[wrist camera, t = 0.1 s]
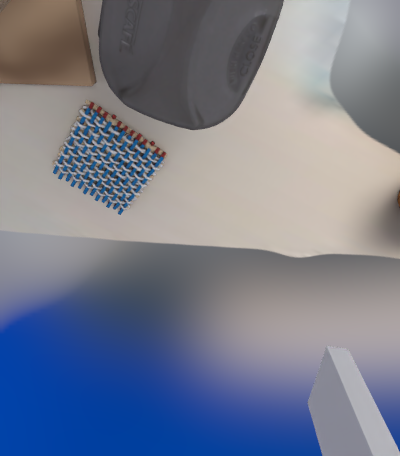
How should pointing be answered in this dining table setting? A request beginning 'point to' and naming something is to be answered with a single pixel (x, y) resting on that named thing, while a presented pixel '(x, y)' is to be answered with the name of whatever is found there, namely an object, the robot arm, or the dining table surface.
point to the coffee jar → (184, 55)
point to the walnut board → (45, 43)
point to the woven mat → (107, 158)
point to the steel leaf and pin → (3, 4)
